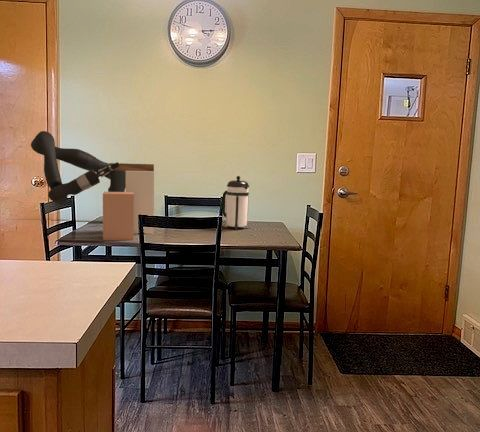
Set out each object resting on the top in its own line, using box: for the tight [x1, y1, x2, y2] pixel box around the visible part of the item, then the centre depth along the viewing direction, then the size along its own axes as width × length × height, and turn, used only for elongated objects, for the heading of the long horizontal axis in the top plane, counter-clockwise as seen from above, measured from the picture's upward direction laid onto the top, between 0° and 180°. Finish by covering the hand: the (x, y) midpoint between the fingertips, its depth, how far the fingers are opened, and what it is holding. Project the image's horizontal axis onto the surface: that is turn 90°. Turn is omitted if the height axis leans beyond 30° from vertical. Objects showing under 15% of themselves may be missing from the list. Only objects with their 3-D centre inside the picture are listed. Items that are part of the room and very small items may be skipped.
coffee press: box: [221, 175, 250, 231], centre depth 255 cm, size 17×16×30 cm
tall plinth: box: [125, 170, 155, 235], centre depth 231 cm, size 10×14×32 cm
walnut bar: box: [109, 162, 155, 172], centre depth 227 cm, size 4×22×4 cm, turn 103°
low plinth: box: [102, 191, 135, 241], centre depth 215 cm, size 10×14×22 cm
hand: (118, 164), depth 226 cm, fingers closed on walnut bar, 3 cm apart
